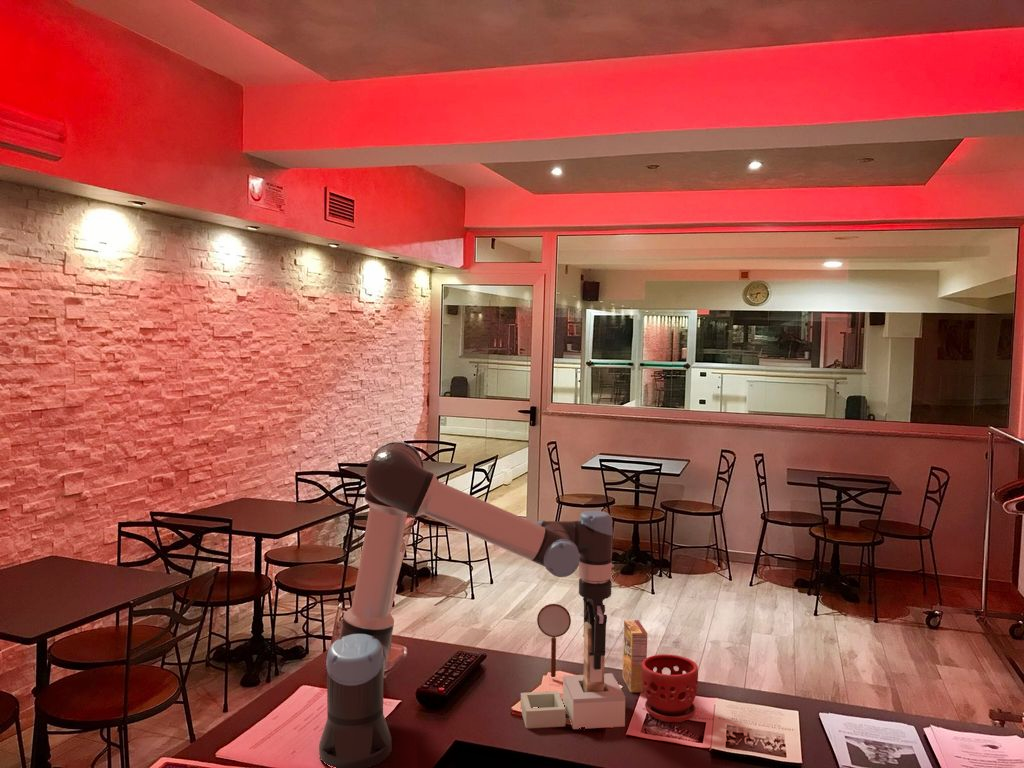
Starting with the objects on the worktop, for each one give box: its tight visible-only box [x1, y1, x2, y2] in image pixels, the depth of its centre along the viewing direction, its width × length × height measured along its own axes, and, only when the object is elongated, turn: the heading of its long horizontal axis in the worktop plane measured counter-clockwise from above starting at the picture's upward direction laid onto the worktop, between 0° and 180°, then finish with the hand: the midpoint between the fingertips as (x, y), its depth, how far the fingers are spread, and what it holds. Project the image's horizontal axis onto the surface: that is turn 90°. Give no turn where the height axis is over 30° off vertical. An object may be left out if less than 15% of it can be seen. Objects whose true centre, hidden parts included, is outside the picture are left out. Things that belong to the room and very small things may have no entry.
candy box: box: [622, 619, 648, 694], centre depth 198 cm, size 9×4×15 cm, turn 6°
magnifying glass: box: [536, 603, 572, 678], centre depth 201 cm, size 9×2×20 cm, turn 85°
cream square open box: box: [520, 690, 566, 729], centre depth 182 cm, size 9×9×4 cm
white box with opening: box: [562, 672, 626, 730], centre depth 183 cm, size 12×12×7 cm
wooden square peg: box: [582, 621, 606, 692], centre depth 182 cm, size 4×4×17 cm
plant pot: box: [641, 653, 699, 723], centre depth 184 cm, size 13×13×12 cm
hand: (593, 676), depth 183 cm, fingers closed on wooden square peg, 4 cm apart
